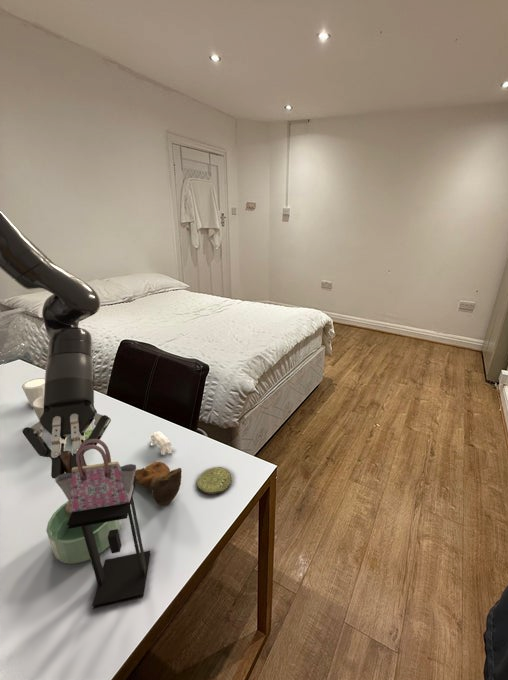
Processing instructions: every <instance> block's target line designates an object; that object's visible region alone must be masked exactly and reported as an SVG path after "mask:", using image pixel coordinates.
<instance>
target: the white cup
mask: <svg viewBox="0 0 508 680" xmlns="http://www.w3.org/2000/svg"><path fill="white" fill-rule="evenodd" d="M21 388H22V390H23V393H24V394H25V396H26V399H27V401H28V403H29V405H30V406H31V407H32V403H33V402H34V401H35V400H36V399H37V398H39V397H41V396H43V395H44V390H45V377H36V378H32V379H29V380H27V381H25V382H24V383H22V385H21Z"/></svg>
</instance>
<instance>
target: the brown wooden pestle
mask: <svg viewBox="0 0 508 680" xmlns="http://www.w3.org/2000/svg"><path fill="white" fill-rule="evenodd" d="M71 455H73V451H71V450H65V451H64V452H63V453H62V454H61V460H62V463H63V467H64V470H65V473H71ZM66 512H67V516H68V519H70V516H71V514H72V512H70V502H68V503H67V505H66Z"/></svg>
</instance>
